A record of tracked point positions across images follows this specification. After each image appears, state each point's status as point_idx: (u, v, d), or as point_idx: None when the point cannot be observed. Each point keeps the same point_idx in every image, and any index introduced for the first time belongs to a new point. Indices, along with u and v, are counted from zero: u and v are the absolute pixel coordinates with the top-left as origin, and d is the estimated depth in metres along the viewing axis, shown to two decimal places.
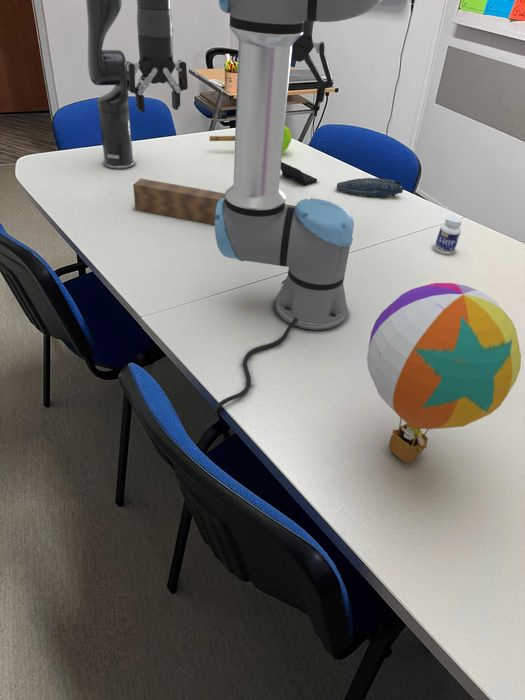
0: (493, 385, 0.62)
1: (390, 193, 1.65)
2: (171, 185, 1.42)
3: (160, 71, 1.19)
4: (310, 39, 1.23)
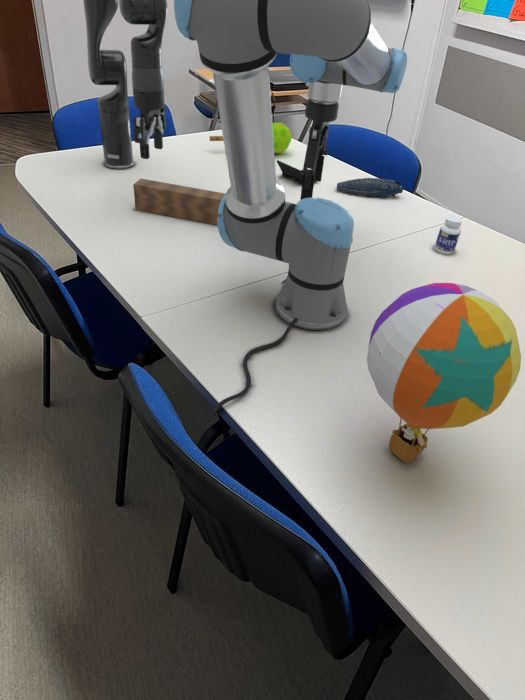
0: (493, 385, 0.62)
1: (390, 193, 1.65)
2: (171, 185, 1.42)
3: None
4: None
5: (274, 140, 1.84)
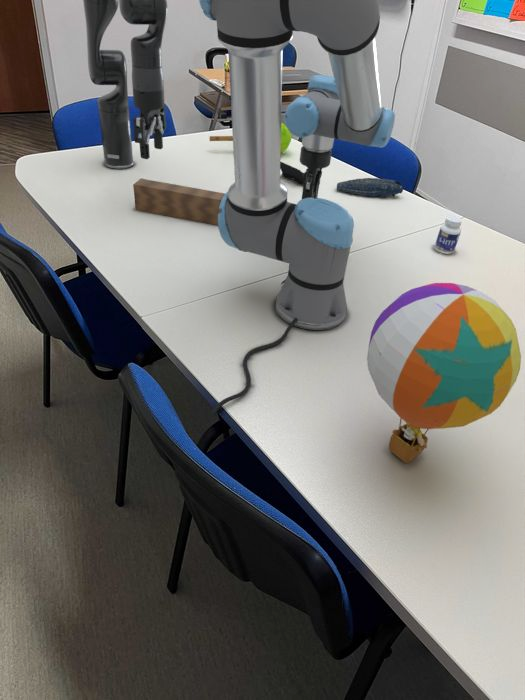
0: (493, 385, 0.62)
1: (390, 193, 1.65)
2: (171, 185, 1.42)
3: None
4: None
5: None
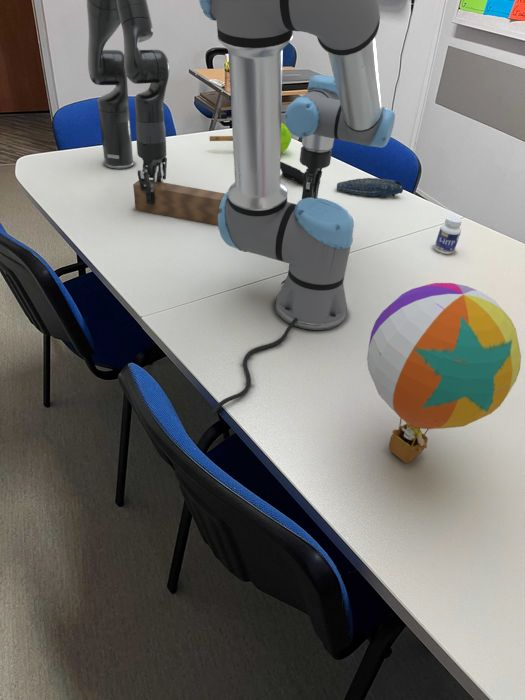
0: (493, 385, 0.62)
1: (390, 193, 1.65)
2: (171, 185, 1.42)
3: None
4: None
5: None
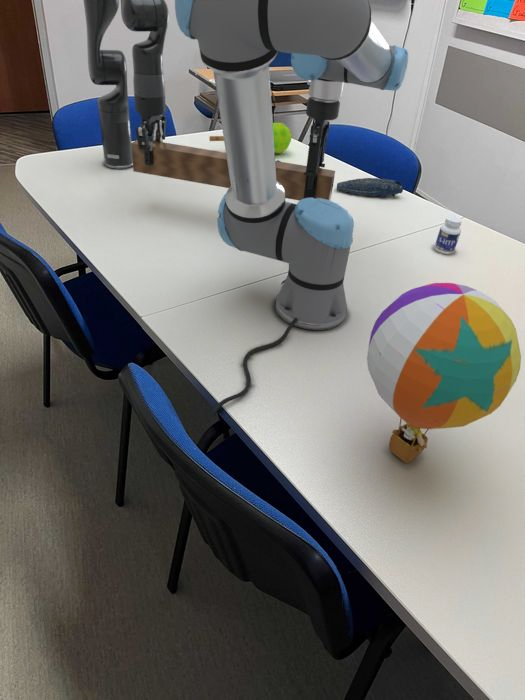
0: (493, 385, 0.62)
1: (390, 193, 1.65)
2: (171, 145, 1.36)
3: None
4: None
5: (274, 140, 1.84)
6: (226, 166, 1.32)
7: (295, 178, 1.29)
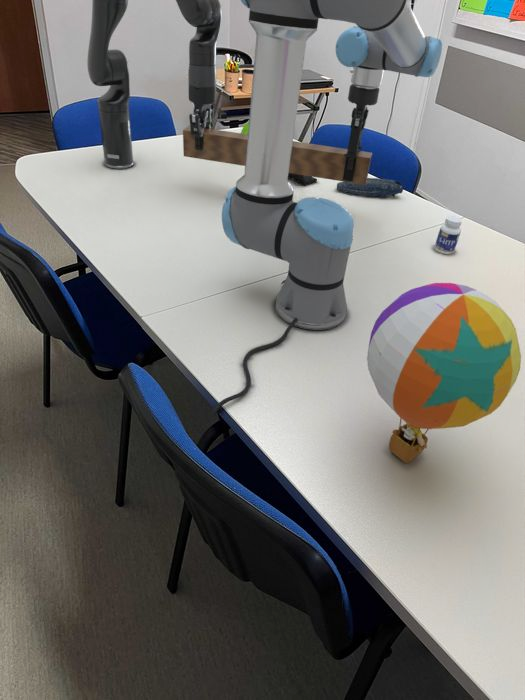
0: (493, 385, 0.62)
1: (390, 193, 1.65)
2: (219, 131, 1.48)
3: None
4: None
5: None
6: None
7: (336, 160, 1.41)
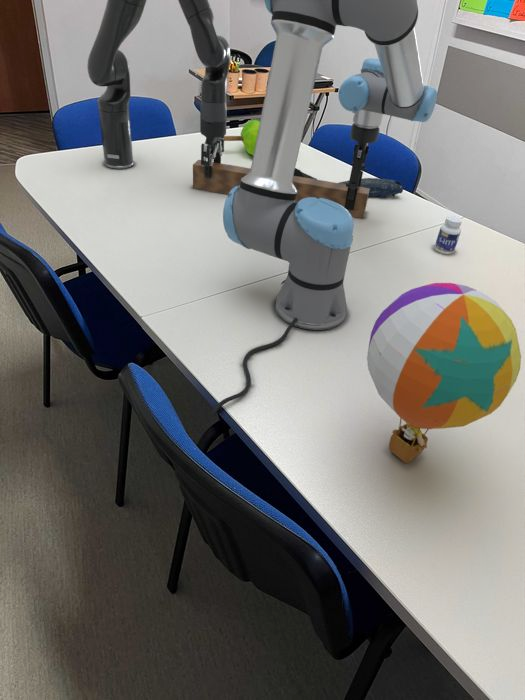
0: (493, 385, 0.62)
1: (390, 193, 1.65)
2: (226, 165, 1.58)
3: None
4: None
5: None
6: None
7: (336, 195, 1.51)
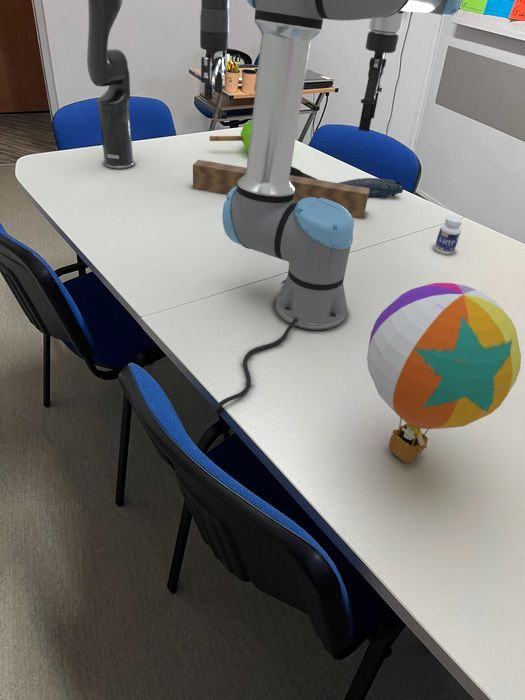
0: (493, 385, 0.62)
1: (390, 193, 1.65)
2: (226, 165, 1.58)
3: None
4: None
5: None
6: None
7: (336, 195, 1.51)
